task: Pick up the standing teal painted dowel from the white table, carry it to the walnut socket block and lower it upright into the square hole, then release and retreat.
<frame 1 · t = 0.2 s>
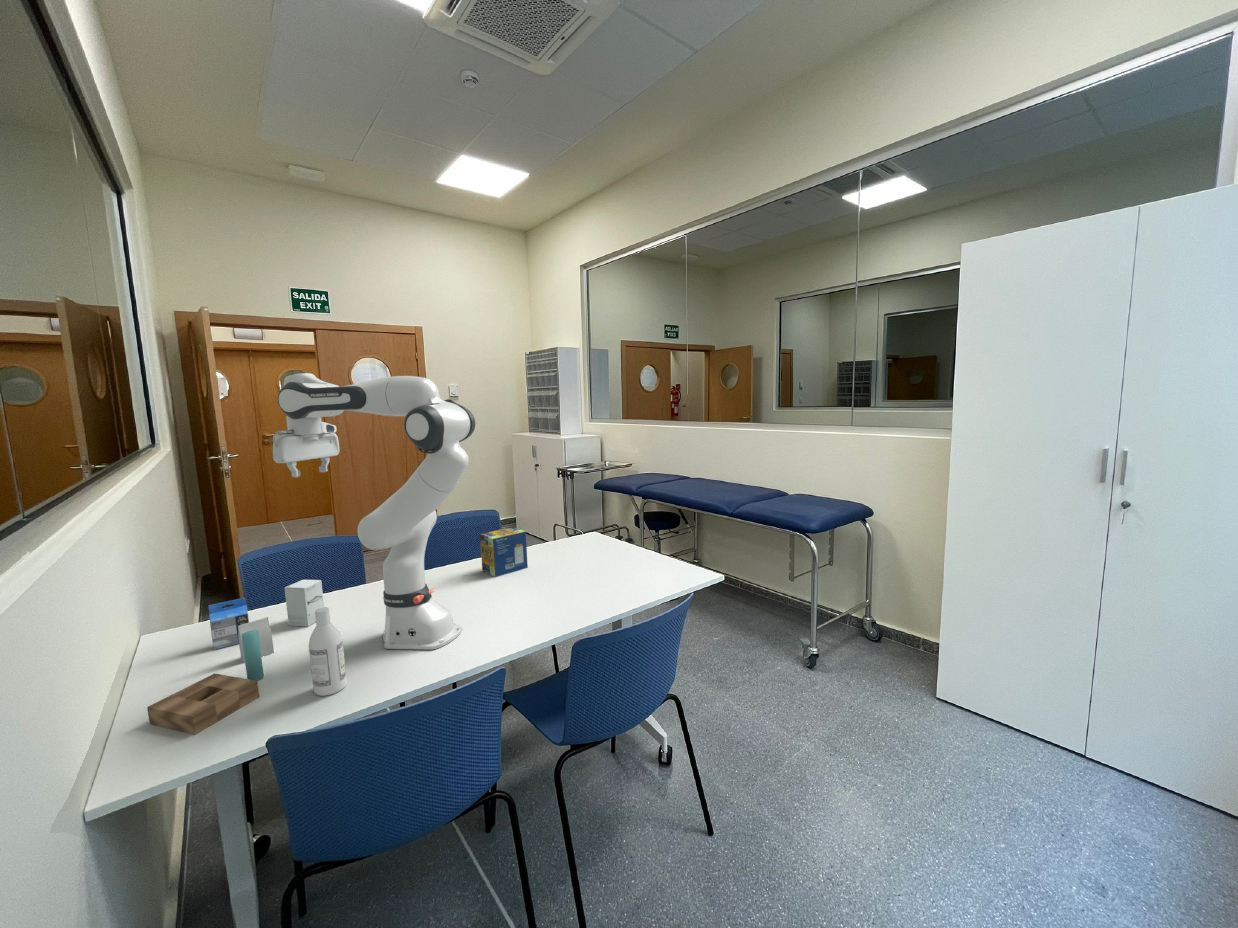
hand: (310, 474, 153), 47 cm above the table, fingers open, 8 cm apart
white carton: (257, 656, 140), on the table
peg: (255, 678, 128), on the table
supplement box: (307, 621, 162), on the table
protein box: (505, 570, 205), on the table
label tape box: (232, 643, 148), on the table
socket block: (206, 709, 115), on the table
bath foam: (330, 689, 122), on the table
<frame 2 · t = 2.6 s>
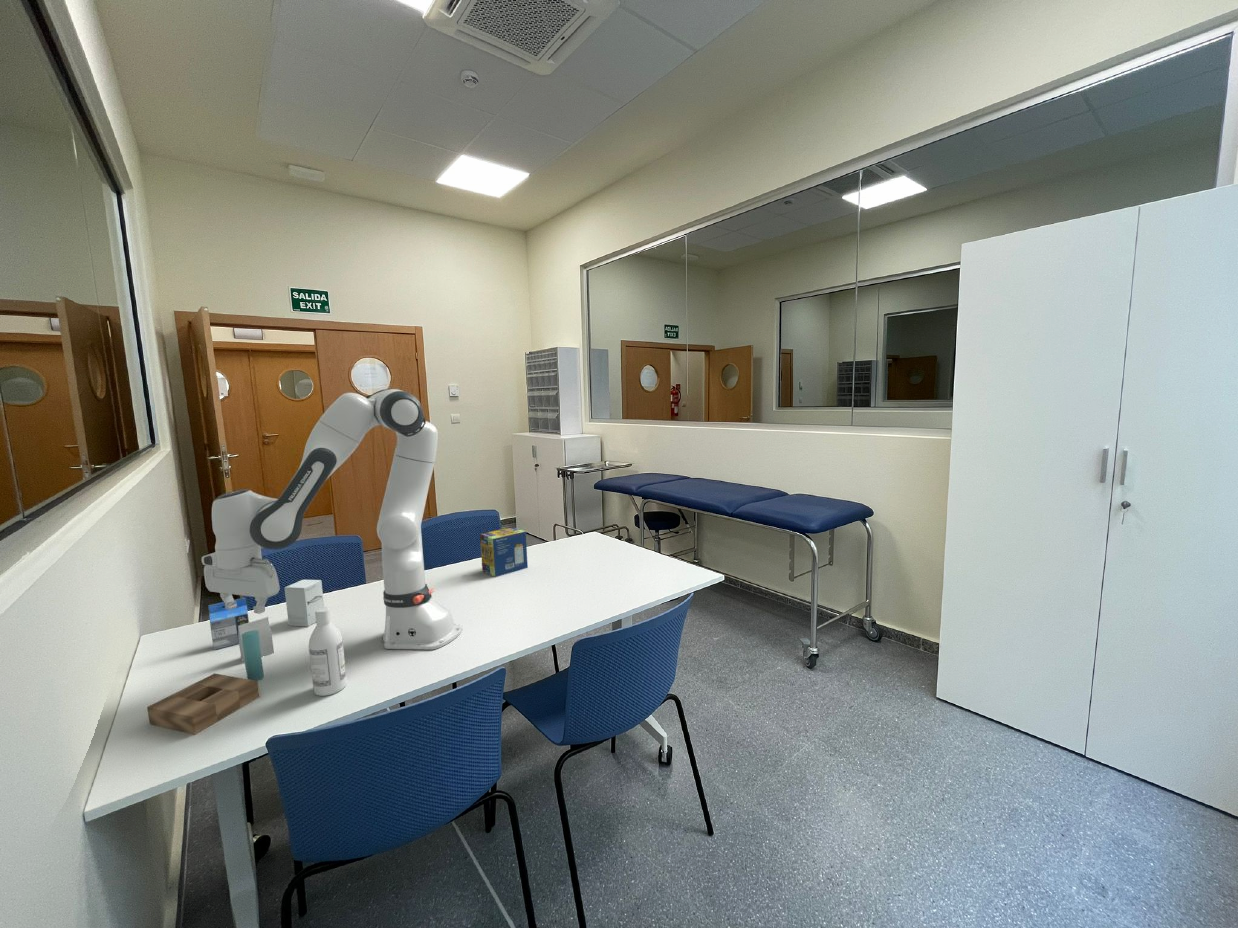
hand: (245, 610, 126), 18 cm above the table, fingers open, 8 cm apart
nothing on the table moved.
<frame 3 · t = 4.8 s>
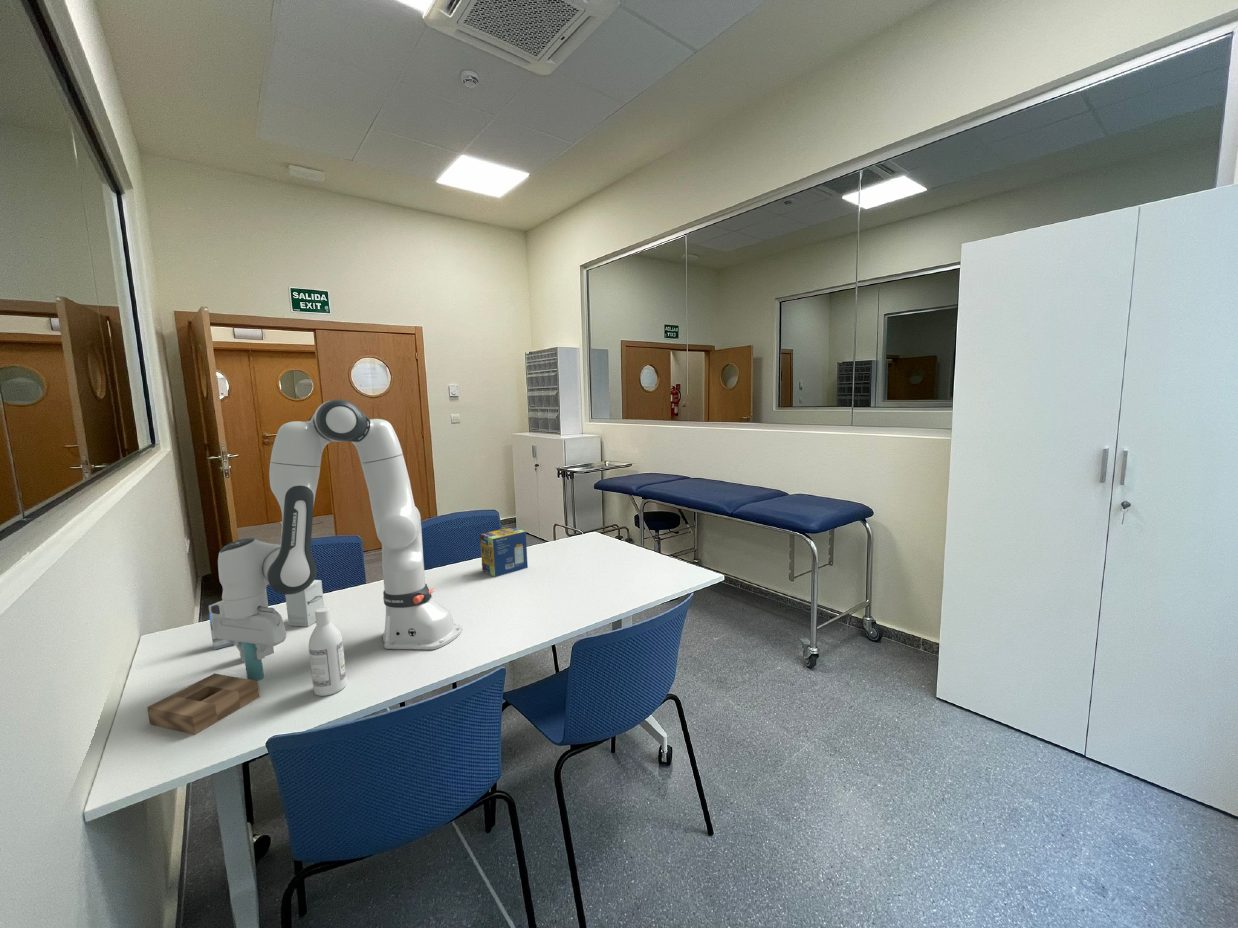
hand: (253, 657, 127), 6 cm above the table, fingers closed on peg, 3 cm apart
peg: (255, 678, 128), on the table, touching gripper
everything else where it was.
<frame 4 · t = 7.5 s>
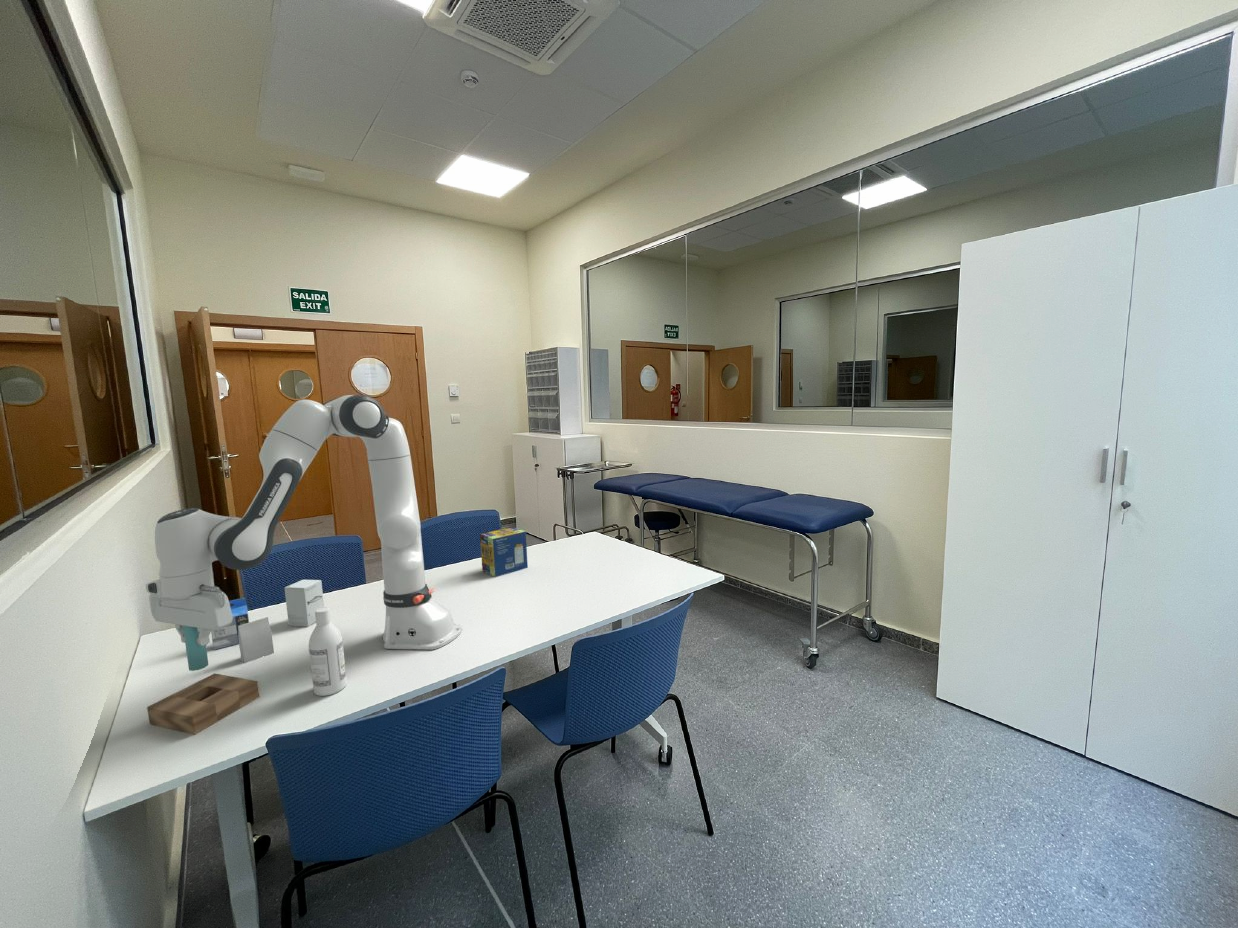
hand: (195, 642, 113), 16 cm above the table, fingers closed on peg, 3 cm apart
peg: (198, 666, 114), point 11 cm above the table, touching gripper
everything else where it was.
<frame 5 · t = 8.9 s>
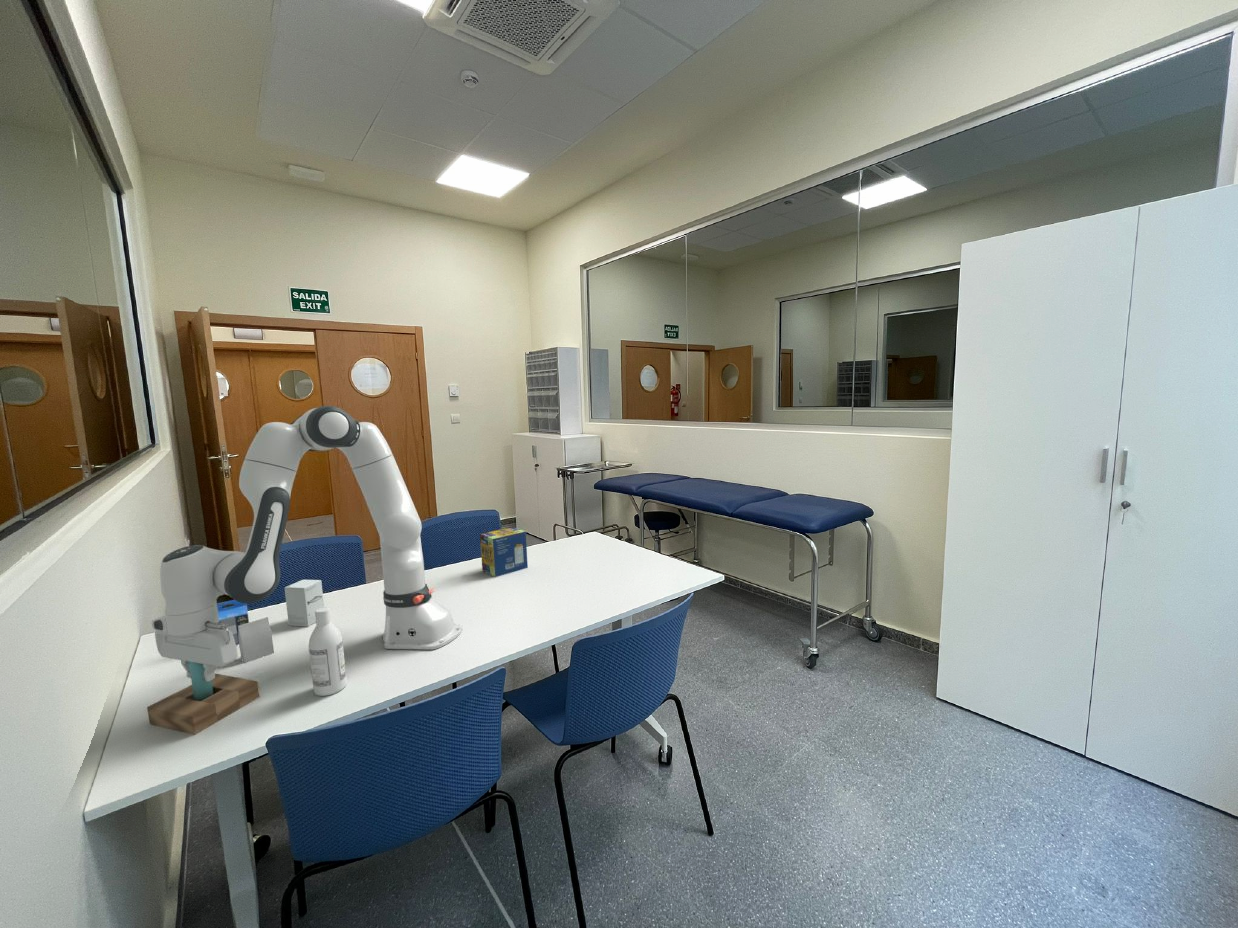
hand: (201, 678, 114), 8 cm above the table, fingers closed on peg, 3 cm apart
peg: (204, 701, 115), point 2 cm above the table, touching gripper
everything else where it was.
when the fingers open (7 cm above the table, at t = 10.1 s): peg stays where it is, resting in socket block.
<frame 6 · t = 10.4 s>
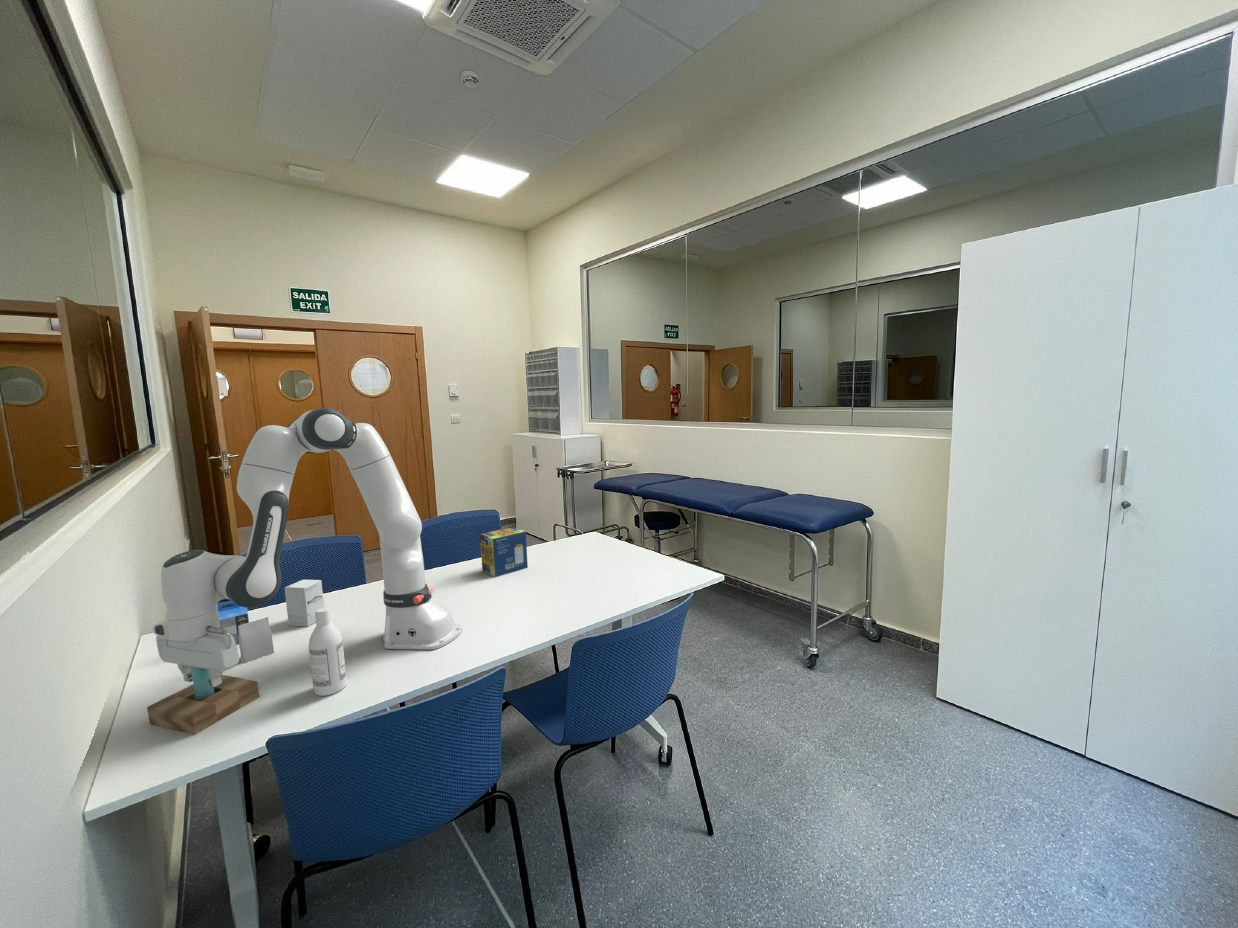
hand: (203, 682, 114), 7 cm above the table, fingers open, 6 cm apart
peg: (207, 709, 115), resting in socket block
everything else where it was.
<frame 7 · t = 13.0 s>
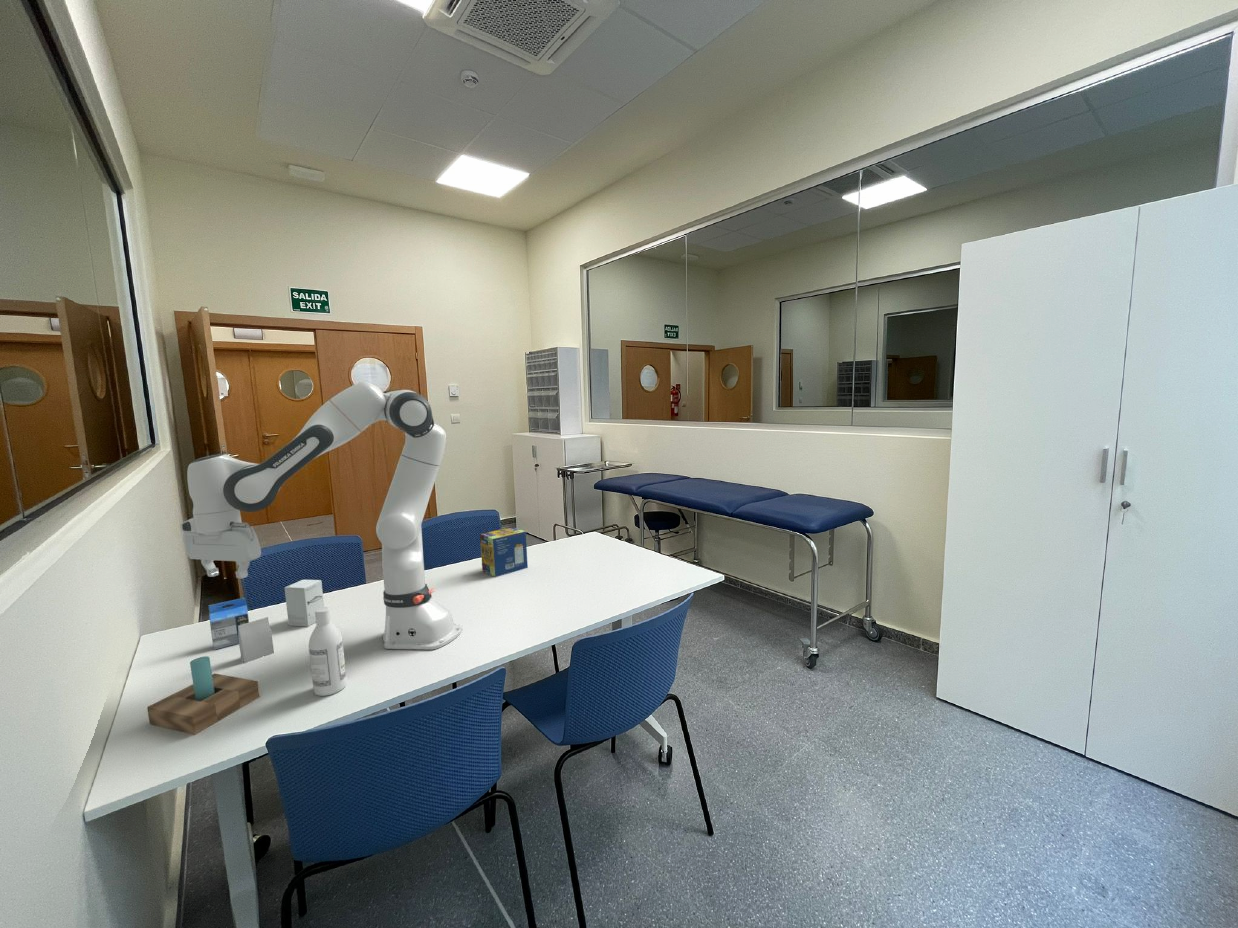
hand: (227, 576, 124), 27 cm above the table, fingers open, 8 cm apart
nothing on the table moved.
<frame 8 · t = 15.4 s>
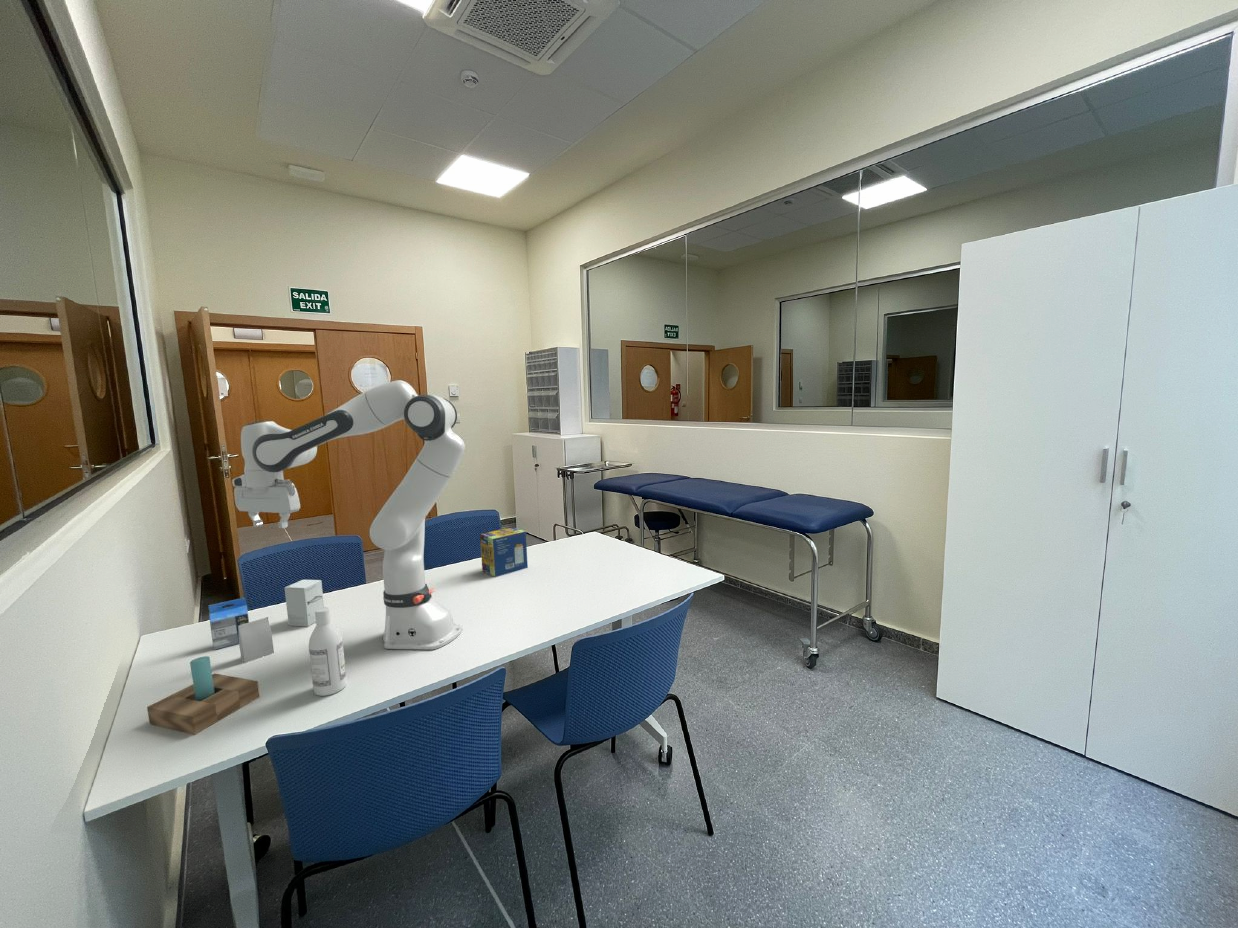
hand: (270, 527, 144), 34 cm above the table, fingers open, 8 cm apart
nothing on the table moved.
at the end: peg 0.1 cm off-centre on the socket block, point 0.0 cm above the socket block's base; peg tilted 0°; the gripper is holding nothing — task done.
